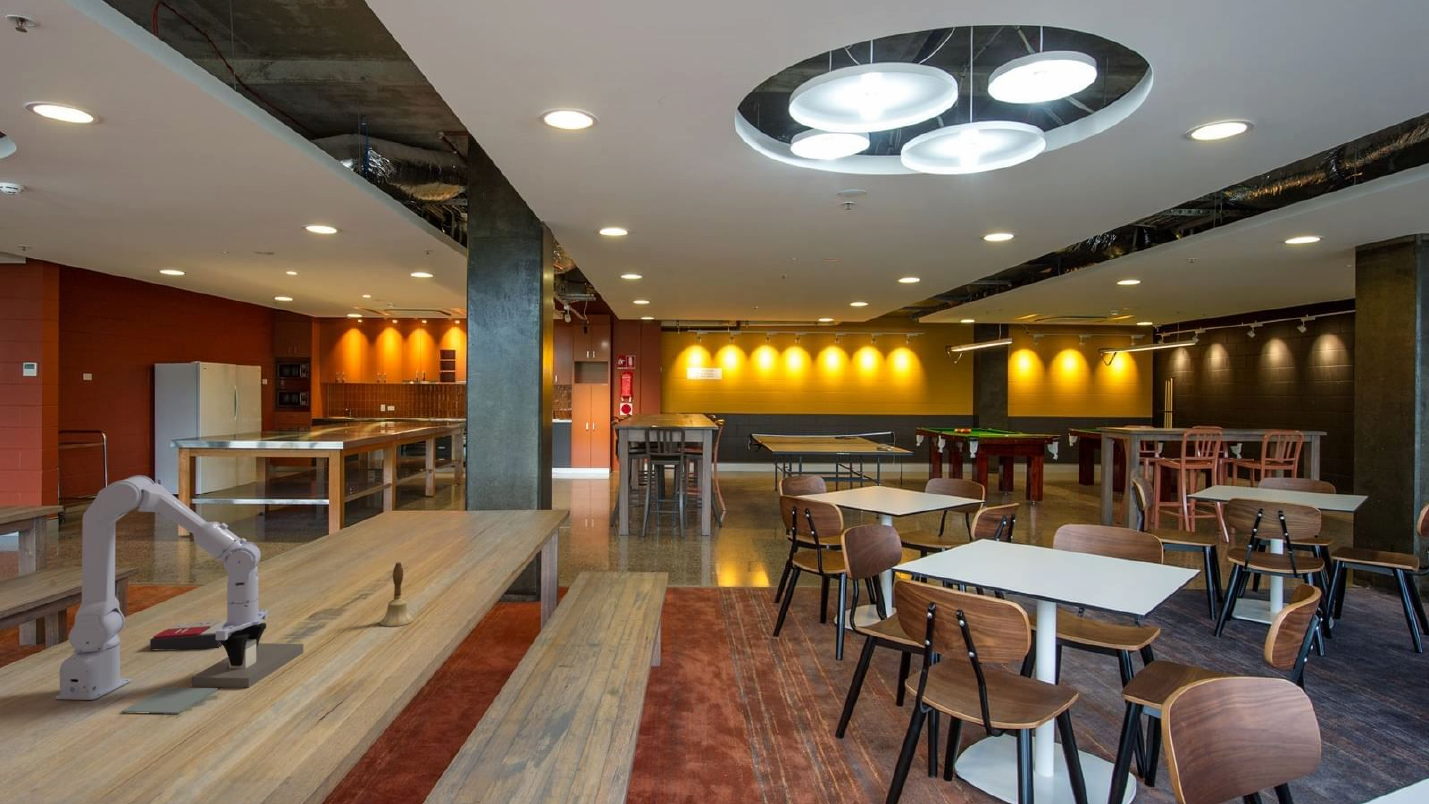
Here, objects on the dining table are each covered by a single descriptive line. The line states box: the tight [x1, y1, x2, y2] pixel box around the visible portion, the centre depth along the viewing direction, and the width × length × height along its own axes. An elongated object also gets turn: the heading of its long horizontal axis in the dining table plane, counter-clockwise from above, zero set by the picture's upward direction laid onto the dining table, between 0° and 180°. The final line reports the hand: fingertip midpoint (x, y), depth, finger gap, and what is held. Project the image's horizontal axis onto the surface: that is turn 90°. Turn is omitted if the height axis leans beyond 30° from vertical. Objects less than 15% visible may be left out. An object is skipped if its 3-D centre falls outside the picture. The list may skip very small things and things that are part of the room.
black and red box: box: [149, 619, 227, 650], centre depth 178 cm, size 11×4×15 cm
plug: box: [229, 639, 256, 669], centre depth 159 cm, size 4×4×7 cm
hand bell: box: [379, 561, 414, 628], centre depth 195 cm, size 8×8×16 cm
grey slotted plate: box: [191, 642, 304, 689], centre depth 162 cm, size 20×12×2 cm, turn 0°
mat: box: [120, 686, 219, 715], centre depth 145 cm, size 11×11×1 cm
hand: (242, 661), depth 159 cm, fingers closed on plug, 4 cm apart
